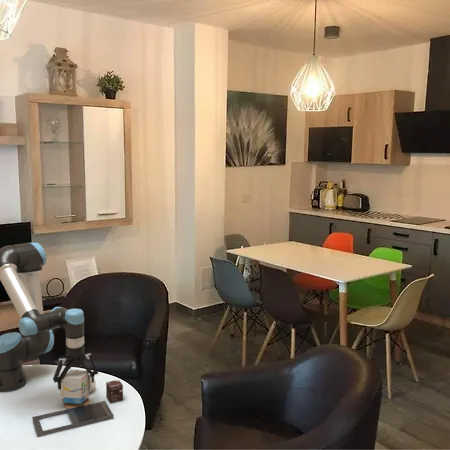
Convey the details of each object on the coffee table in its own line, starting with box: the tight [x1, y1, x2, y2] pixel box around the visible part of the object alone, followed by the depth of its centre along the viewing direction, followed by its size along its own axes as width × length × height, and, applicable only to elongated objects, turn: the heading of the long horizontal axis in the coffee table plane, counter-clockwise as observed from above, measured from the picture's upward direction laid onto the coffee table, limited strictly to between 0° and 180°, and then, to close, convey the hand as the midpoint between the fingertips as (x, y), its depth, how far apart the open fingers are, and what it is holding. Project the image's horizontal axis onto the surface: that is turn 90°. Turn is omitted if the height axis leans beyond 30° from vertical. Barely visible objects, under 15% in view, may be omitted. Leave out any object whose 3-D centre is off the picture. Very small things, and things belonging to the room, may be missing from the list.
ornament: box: [89, 378, 97, 393], centre depth 230 cm, size 7×7×8 cm
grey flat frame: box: [31, 400, 115, 438], centre depth 207 cm, size 30×13×2 cm, turn 119°
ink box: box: [62, 369, 90, 404], centre depth 218 cm, size 9×8×12 cm
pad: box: [62, 397, 92, 410], centre depth 220 cm, size 10×10×1 cm
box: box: [105, 379, 124, 404], centre depth 224 cm, size 6×6×7 cm
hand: (76, 392), depth 219 cm, fingers closed on ink box, 11 cm apart
